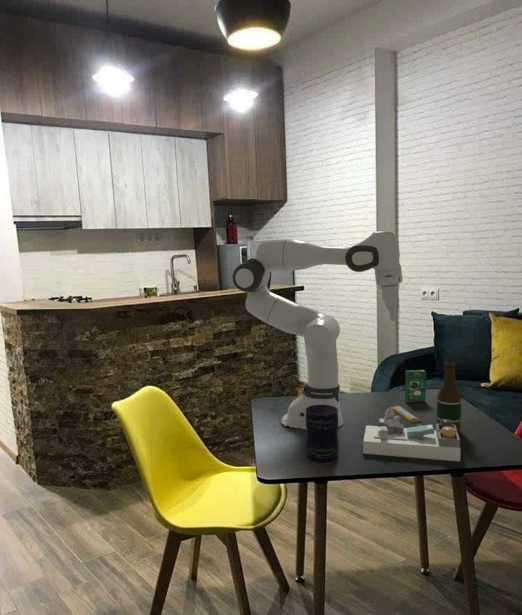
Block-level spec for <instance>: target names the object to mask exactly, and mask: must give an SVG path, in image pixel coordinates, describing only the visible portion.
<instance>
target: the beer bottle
mask: <svg viewBox="0 0 522 615" xmlns="http://www.w3.org/2000/svg"><path fill="white" fill-rule="evenodd" d="M443 366H444V372H443V381H442V386H441V387H440V389H439V390H438V393H437V398H436V424H440V422H441V419H449V420H452V421H453V425H456V429H457V433H458V434H460V432H461V427H462V395H461V392H460V390H459V388H458V387H457V384H456V368H455V367H456V363H455V362H453V361H445V362H444V364H443Z"/></svg>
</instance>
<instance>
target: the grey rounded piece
mask: <svg viewBox="0 0 522 615" xmlns="http://www.w3.org/2000/svg"><path fill="white" fill-rule="evenodd" d="M382 419H385V420H393V422H396V423H400V424H401V422H400V420H401V417H400V415H396V412H395V411H394V410H393V409H391V406H388V408H387V409H386V411H385V412H384V417H383V418H382Z"/></svg>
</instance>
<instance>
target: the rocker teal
mask: <svg viewBox="0 0 522 615" xmlns="http://www.w3.org/2000/svg"><path fill="white" fill-rule="evenodd" d="M406 428H407V436H408V437H412V436H418V431H423V435H428V434H434V430H435V429H434V425H433V424H426V425H423V426H410V427H406Z"/></svg>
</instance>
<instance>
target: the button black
mask: <svg viewBox="0 0 522 615" xmlns="http://www.w3.org/2000/svg"><path fill="white" fill-rule="evenodd" d="M443 427H453V421H452V420H449V419H441V422H440V428H441V429H442V428H443Z"/></svg>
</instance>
